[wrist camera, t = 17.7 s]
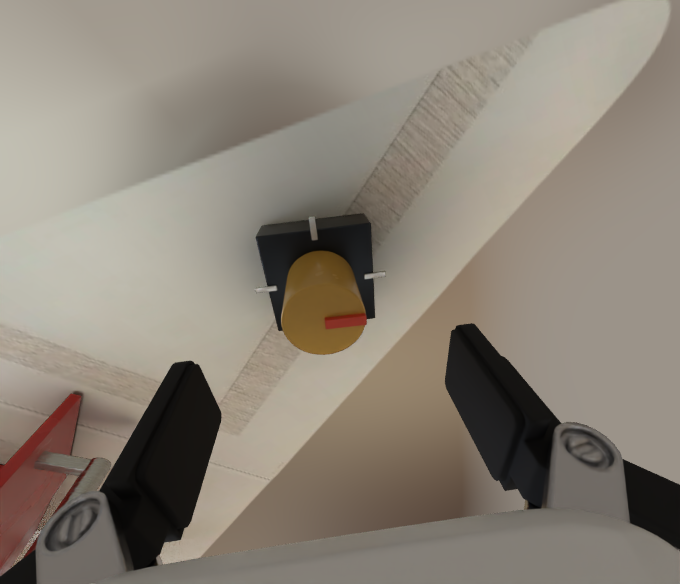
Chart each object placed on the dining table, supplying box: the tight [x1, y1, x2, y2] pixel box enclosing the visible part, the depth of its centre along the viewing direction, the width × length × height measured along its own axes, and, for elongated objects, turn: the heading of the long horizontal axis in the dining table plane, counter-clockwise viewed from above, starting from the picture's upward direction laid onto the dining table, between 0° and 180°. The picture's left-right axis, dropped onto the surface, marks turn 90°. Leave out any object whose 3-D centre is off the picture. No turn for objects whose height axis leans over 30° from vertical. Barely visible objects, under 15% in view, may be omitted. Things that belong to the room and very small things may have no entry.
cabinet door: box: [0, 394, 111, 569], centre depth 21 cm, size 5×12×16 cm, turn 152°
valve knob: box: [281, 251, 367, 355], centre depth 17 cm, size 4×4×5 cm
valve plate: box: [255, 214, 386, 331], centre depth 20 cm, size 9×9×3 cm
